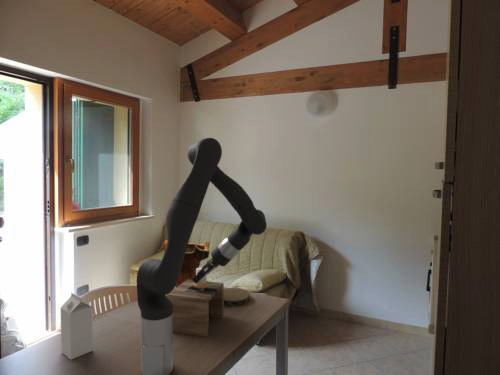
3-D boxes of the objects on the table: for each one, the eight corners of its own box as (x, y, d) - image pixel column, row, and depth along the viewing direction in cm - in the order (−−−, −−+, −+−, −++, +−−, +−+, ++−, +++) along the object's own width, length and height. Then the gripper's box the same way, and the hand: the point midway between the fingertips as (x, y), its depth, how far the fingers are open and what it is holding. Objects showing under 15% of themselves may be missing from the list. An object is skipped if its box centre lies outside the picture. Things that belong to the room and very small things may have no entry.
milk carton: (83, 344, 117) (82, 289, 116) (93, 351, 112) (92, 294, 111) (61, 352, 111) (60, 295, 110) (70, 360, 107) (69, 301, 106)
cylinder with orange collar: (210, 311, 130) (210, 270, 130) (195, 313, 128) (195, 271, 128) (207, 305, 136) (207, 266, 135) (192, 307, 134) (192, 267, 133)
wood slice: (243, 309, 148) (243, 302, 148) (209, 304, 153) (209, 297, 153) (254, 296, 163) (254, 290, 163) (223, 292, 168) (223, 286, 168)
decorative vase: (204, 306, 149) (201, 242, 148) (156, 304, 154) (153, 242, 153) (218, 289, 170) (216, 234, 168) (175, 288, 174) (172, 234, 173)
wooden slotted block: (207, 337, 122) (207, 298, 122) (166, 331, 126) (166, 294, 126) (223, 316, 140) (223, 282, 139) (187, 312, 144) (187, 279, 143)
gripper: (225, 239, 136) (197, 267, 140) (212, 247, 122) (182, 278, 126) (238, 254, 135) (209, 281, 138) (226, 263, 121) (195, 293, 125)
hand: (196, 279), depth 132 cm, fingers closed on cylinder with orange collar, 4 cm apart
